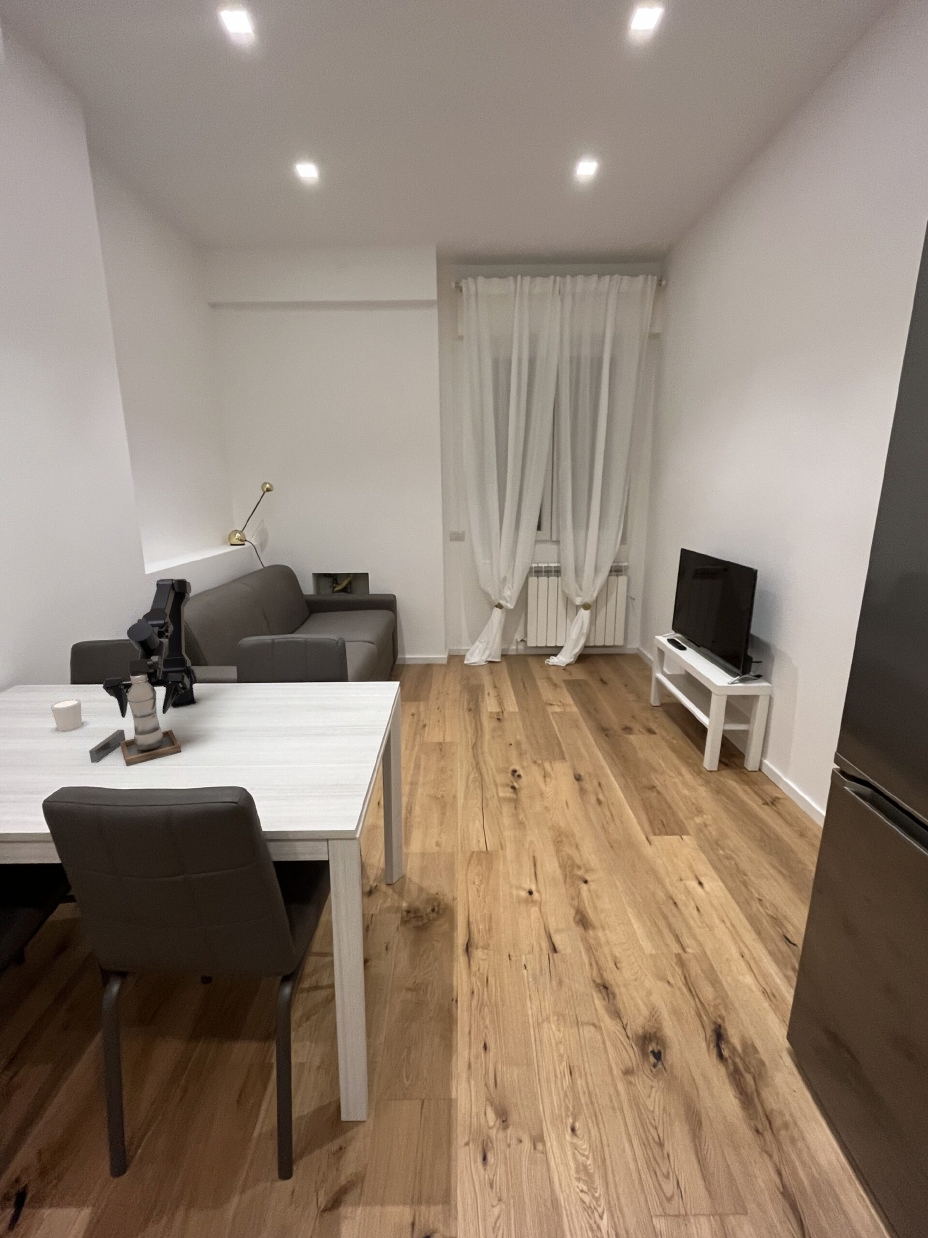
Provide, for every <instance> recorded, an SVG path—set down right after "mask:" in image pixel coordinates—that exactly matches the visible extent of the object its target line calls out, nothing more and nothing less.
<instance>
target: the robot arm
mask: <svg viewBox="0 0 928 1238" xmlns="http://www.w3.org/2000/svg"><path fill="white" fill-rule="evenodd" d="M155 583H156V584H155V585H156V590H155V593H154V596H153V600H152V604H151V606H150V610H149V611H147V612H146V613H145V614H143V616H142V617H141V618H138V619H137V621H136V622H135V623H133V624H132V625H130V626H129V628H128V629H127V632H126V635H127V638H128V639H129V640H130V643H132V645H133V646H134V647H135V649H136V650H137V651H139V654H138V658H136V659H133V660H132V659H131V660H128V665H127V666H128V668H127V669H128V671H127V672H128V674H129V675H131V674H133V673H136V672H147V677H148V681H147V682H148V683H150V684H151V685H152V686H153V687H154V688H160V687H161V688H162V687H163V688H165V693H164V698H163V704H162V715H166V714H167V712H168V710H169V709H170V707H171V706H172V708H174V709H175V708H178V707H179V708H180V707H183V706H188V705H193V704H196V703H197V701H196V700H195V695H194V685H195V684H197V683H198V677H197V673H196V671H195V669H194V668H193V666H192V661H191V660H190V659H189V657H188V656H187V654H186V650H185V649H186V647H185V646H186V643H185V637H186V635H185V607H186V605H187V604H188V602H189V600H190V595H191V593H192V584H191V582H190V581H187V579H186V578H175V579H174V578H160V579H158V580H157V581H156V582H155ZM162 639H163V640H164V639H167V654H166V656H165V653H166V644H165V643H164V642H163V641H162ZM131 686H132V683H131V680H130V681H126V680H125V678H124V677H122V676H117V677H116V676H115V677H107V678H106V679H104V680H103V683H102V689H103V690H104V691H105V692H106V693H107V694H108V696H110V697H112V698H114V699H115V700H116V701H117V704H118V707H119V712H120V716H121V718H123V719H124V718H125V717H126V714H127V710H128V704H129V702H128V699H127V693H128V691H129V689H130V687H131Z"/></svg>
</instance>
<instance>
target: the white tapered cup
mask: <svg viewBox="0 0 928 1238" xmlns="http://www.w3.org/2000/svg"><path fill="white" fill-rule="evenodd" d="M50 709H51V713H52V716H53V719H54V721H55V725H56V727H57V728H56V729H57V730H58V731H60V732H68V731H73V730H76V729H79V728H80V727H81V726H83V721H82V719H83V718H82V716H83V715H82V702H81V701H80V699H65V700H61V701H58V702H55V703H53V704H51V705H50ZM78 727H79V728H78Z"/></svg>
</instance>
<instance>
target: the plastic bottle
mask: <svg viewBox="0 0 928 1238" xmlns="http://www.w3.org/2000/svg"><path fill="white" fill-rule="evenodd" d="M129 675H130V676H129V678H130V681H131V683H132V686H131V687H130V689H129V691H128V693H127V699H128V704H129V707H130V710H131V714H132V719H133V726H134V727H133V730H134V734H133V735H134V736H133V739H134V742H135V745H136V747H137V748H138V749H139V750H142V751H146V750H152V749H155V748H157V747H159V746H160V745H161V744H162V742H163V733H162V732H163V730H162V728H161V726H160V725H161V724H160V722H159V717H158V712H157V711H158V710H157V691H156V689H155V687H153V686H152V685H151V684H150V683H148V682H147V681H148V677H147V672H136V673H133V674H131V673H130V674H129Z"/></svg>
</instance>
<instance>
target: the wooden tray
mask: <svg viewBox="0 0 928 1238" xmlns="http://www.w3.org/2000/svg"><path fill="white" fill-rule="evenodd" d="M162 733H163V742H162V744H161V745H160V746H159V747H157V748H155V749H152V750H146V751H142V750H139V749H138V748H137V747H136V745H135V742H134V738H131V739H130V738H129V739H125V741H121V742H120V745H119V746H120V749H121V753H122V755H123V759H124V762H125V766H126V767H127V766H132V764H133V765H136V764H140V763H144V762H147V761H151V760H155V759H158V758H162V757H166V756H171V755H175V754H178V753H181V752H182V748H181V744H180V742H179V741H178V738H177V737H176V735H175V734H174V732H173V730H172V729H169V730H165V731H162Z"/></svg>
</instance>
